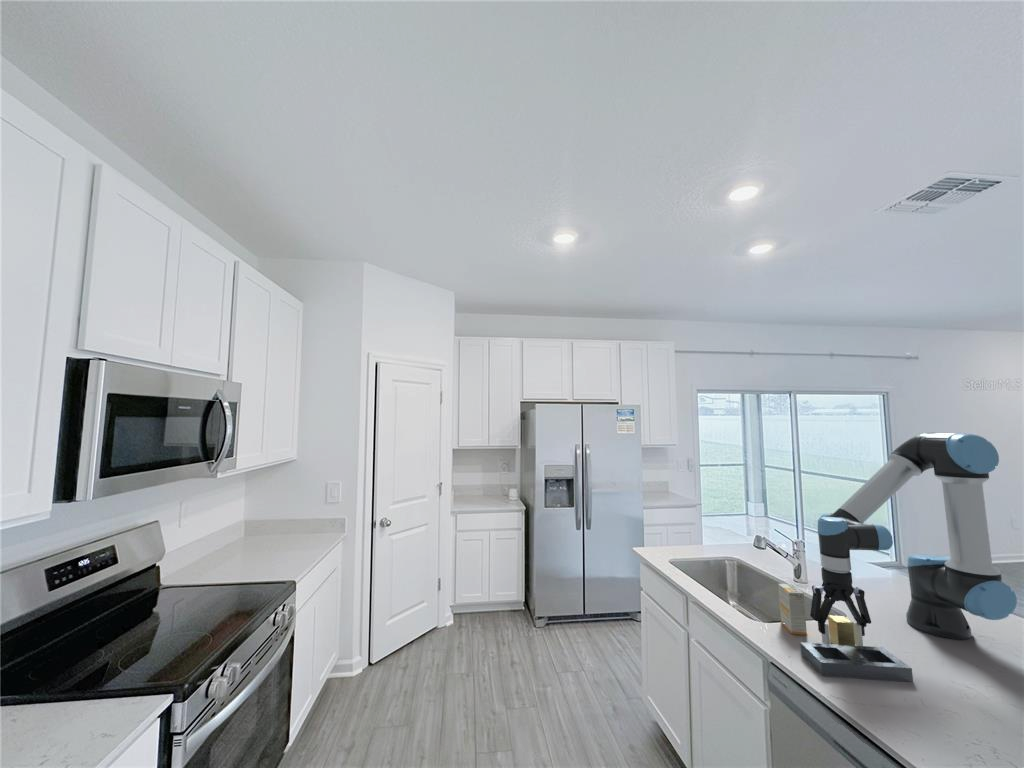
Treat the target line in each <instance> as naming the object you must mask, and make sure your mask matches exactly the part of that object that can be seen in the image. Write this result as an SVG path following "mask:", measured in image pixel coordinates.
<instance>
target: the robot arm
mask: <svg viewBox="0 0 1024 768" xmlns="http://www.w3.org/2000/svg"><path fill="white" fill-rule="evenodd" d="M887 458H888V461H887V462H886V463H885V464H884V465H883V466H881V468H880V469H879V470H877V471H876V473H874V474H873V475H872V476H871V477H870V478H869V479H868V480H867V481H866V482H865V483H864V484H863V485H861V486H860V487H859V488H858V490H856V492H854V493H853V494H851V496H850V497H849V498H848V499H847V500H846V501H845V502H844V503H843V504H842V505H841V506H839V508H838V509H836V510H835V511H834V512H833V513H831V512H830V513H828V512H827V513H824V514H822V515H820V517H819V518H818V520H817V533H818V545H819V557H820V566H821V569H820V570H821V580H822V584H821V586H816V585H814V584H813V585H812V586H811V590H812V599H811V600H812V601H811V606H810V613H809V615H810V618H812V619H813V620H814V621H815V622H817V627H818V629H817V630H818V632H819V633H820V634H821V641H822V644H831V642H830V635H829V623H828V622H827V620H828V615H829V614H830V613H831V609H832V607H833V605H834V604H835V603H836V602H840V601H841V602H844V603H845V605H846V606H847V608H848V610H849V612H850V614H851V615H852V617H853V619H854V621H852V623H853V628H854V639H855V646H864V641H863V639H864V638H863V637H865V635H866V633H865V627H867V624H872V619H871V617H870V613H869V609H868V606H867V602H866V599H865V593H866V592H865V590H863V589H862V588H859V587H858V586H856V587H853V573H852V572H851V571H852V565H851V552H850V551H877V552H879V551H888V550H890V549H891V548H892V547H893V545H894V543H893V535H892V534H891V531H890V530H889V529H888V528H887V527H886V526H884V525H881V524H874V523H872V524H865V522H866V521H868V519H870V517H872V515H874V513H876V512H877V511H878V510H879V509H880V508H881V507H882V506H883V505H884V504H885V503H886V502H888V500H890V499H891V497H892V496H893V495H895V494H896V493H897V492H898V491H899V490H900V489H901V488H902V487H903V486H904V485H906V484H907V482H909V481H910V479H912V478H913V477H914V476H915V477H916V476H917V477H918V476H921V475H922V474H923V472H925V471H927V470H930V469H933V473H934V476H935V478H938V479H939V480H940V481H941V484H942V492H943V493H942V494H943V502H944V510H945V520H946V528H947V537H948V547H949V554H950V555H949V556H950V557H948V556H946V557H945V556H939V555H930V554H929V555H928V554H912V555H910V556H908V557H907V565H906V566H907V570H908V572H907V573H908V580H909V587H910V598H911V599H910V602H909V606H908V609H907V612H906V613H905V616H906V622H907V623H908V625H910V626H912V628H915V629H917V630H919V631H922V632H924V633H927V634H931V635H933V636H937V637H942V638H944V639H945V638H947V639H952V640H968V639H971V638H972V637H973V634H972V629H971V626H970V624H969V622H968V620H967V619H966V616H965V614H964V612H963V611H966V612H968V613H969V614H970V615H973V616H976V617H977V616H978V617H980V618H983V619H986V620H990V621H1000V620H1003V619H1006V618H1007V617H1009V616H1010V614H1011V615H1012V614H1013V613H1014V611H1015V609H1016V608H1017V604H1018V598H1017V595H1016V593H1015V591H1014V590H1013V589H1012V587H1010V585H1008V584H1006V583H1005V582H1003V580H1002V578H1003V577H1002V573H1001V571H1000V570H999V569H998V568H996V567H995V566H994V564H993V560H992V552H991V543H990V536H989V535H990V534H989V528H988V520H987V519H988V518H987V512H986V511H987V510H986V509H987V508H986V502H985V495H984V487H983V485H984V483H985V482H987V481H989V479H990V473H991V472H993V471H995V469H996V467H997V466H998V465H999V463H1000V456H999V452H998V451H997V448H996V447H995V446H994V444H993V443H992V442H991V441H990V440H987V439H986V438H985V437H982V436H981V435H979V434H972V433H970V434H969V433H965V432H964V433H962V432H956V433H953V432H952V433H951V432H945V433H944V432H943V433H942V432H926V433H925V432H923V433H920V434H918V435H915V436H913V437H911V438H909V439H907V440H906V441H904V442H903V443H901V444H900V445H899V446H898V447H896V448H895V449H894V450H893V451H892V452H891V453H890V454H889V455H887ZM823 592H824V593H825V594H824V597H823V602H822V595H823ZM852 595H854V598H855V600H856V601H855V602H856V605H857V607H856V606H855V604H854V603H855V602H854V600H853V598H852Z"/></svg>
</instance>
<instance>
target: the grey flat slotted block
mask: <svg viewBox="0 0 1024 768" xmlns="http://www.w3.org/2000/svg"><path fill="white" fill-rule="evenodd" d="M799 645H800V655H801V656H802V658H804V659H805V661H807V662H808V664H810V665H811V667H812V668H813V669H815V670H816V672H818V674H819V675H820V676H821V677H833V678H846V679H847V678H848V679H860V680H877V681H888V682H889V681H892V682H903V683H905V682H906V683H914V677H913V676H914V675H913V668H912V667H911V666H909V664H907V663H905V662H904V661H902V660H901V659H900V658H898V657H897V656H896V655H894V654H893V653H892V652H890V651H889V650H887V649H886V648H884V647H883V646H866V645H865V646H864V645H863V646H857V645H855V646H853V645H836V644H832V643H830V644H824V643H819V642H818V643H814V642H802V641H801V642H800V643H799Z"/></svg>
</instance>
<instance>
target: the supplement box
mask: <svg viewBox="0 0 1024 768" xmlns="http://www.w3.org/2000/svg"><path fill="white" fill-rule="evenodd" d="M777 586H778V597H779V598H778V599H779V609H780V610H779V611H780V623H781V624H782V623H785V624H782V625H783V626H784V627H785V629H786V630H788V631H789V633H791V634H793V635H803V636H806V635H808V632H807V620H806V608H805V607H806V605H805V595H804V592H803V591H801V590H800V589H799V588H798V587H797V586H795V585H794V584H792V583H791V584H790V583H778V585H777Z"/></svg>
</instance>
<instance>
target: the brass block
mask: <svg viewBox="0 0 1024 768" xmlns="http://www.w3.org/2000/svg"><path fill="white" fill-rule="evenodd" d="M827 620H828V622H827V624H828V626H829V638H830V644H836V645H853V646H856V645H855V639H854V628H853V621H851V620H850V619H849V618H847V617H845V616H844V615H828V617H827Z"/></svg>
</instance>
